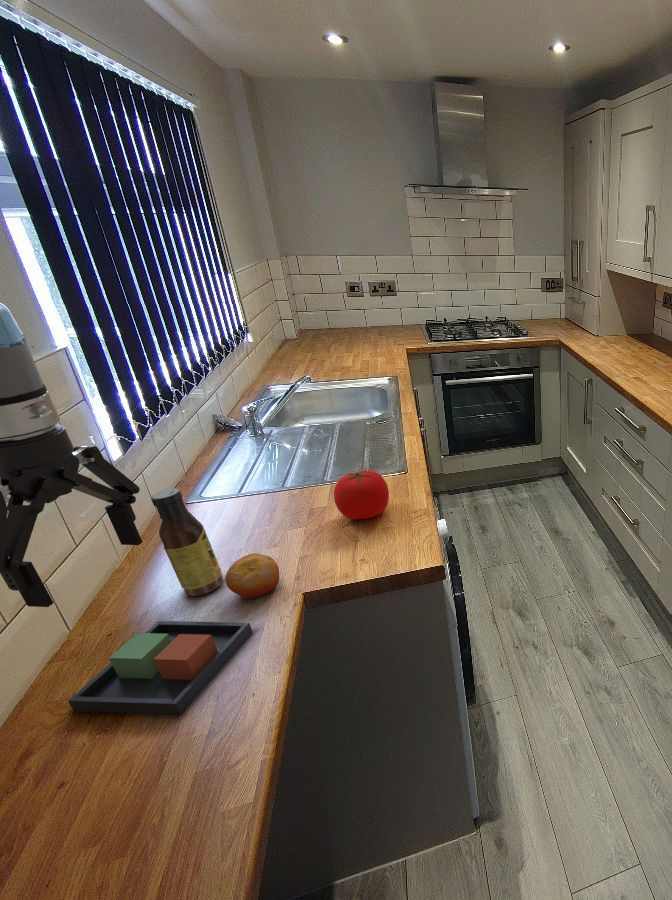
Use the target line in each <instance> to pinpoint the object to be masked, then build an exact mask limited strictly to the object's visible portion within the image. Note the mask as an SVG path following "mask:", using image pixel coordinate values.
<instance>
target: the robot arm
mask: <svg viewBox="0 0 672 900" xmlns="http://www.w3.org/2000/svg"><path fill="white" fill-rule="evenodd" d="M60 421H61V417H60V415H59V412H58V410H57V408H56V405H55V404H54V401H53V399H52V396H51V395H50V392H49V391H48V388H47V386H46V385H45V384H44V381H43V378H42V376H41V374H40V372H39V369H38V367H37V365H36V363H35V360H34V357H33V355H32V352H31V349H30V347H29V345H28V342H27V338H26V335H25V334H24V332H22V330H21V328H20V326H19V325H18V323H17V321H16V319H15V318H14V315H13V314H12V312H11V311H10V309H9V308H8V307H7V305H5V304H3V303H2V302H0V575H1V577H2V579H3V581H4V582H5V584H6V586H7V587H8V589H9V590H11V591H16V592H19V594H20V595H21V598H22V599H23V601H24V603H25V604H26V606H27V607H31V608H32V607H33V608H49V607H51V606H52V605H53V604H54V600H53V598H52V597H51V594H49V591H48V589H47V587H46V586H45V584H44V582H43V580H42V579H41V577H40V575H39V573H38V571H37V570H36V568H35V566H34V565H33V562H32V561H27V560H26V561H25V560H24V559H25V556H26V552H27V549H28V546H29V543H30V540H31V537H32V534H33V531H34V529H35V525H36V521H37V520H38V519H37V518H38V515H39V514H41V513H42V512H43V511H44V508H45V505H46V504H51V503H52V502H55V501H56V500H57V499H58V498H59V497H61V496H65V495H69V494H70V493H72V492H73V490H75V491H78V492H80V493H83V494H85V495H88V496H91V497H93V498H96V499H99V500H101V501H103V502H106V503H109V504H108V505H106V506H105V507H104V511H106V514H107V517H108V519H109V520H110V523H111V525H112V527H113V529H114V532H115V534H116V536H117V538H118V540H119V543H120V545H123V546H140V545H141V544H143V539H142V537H141V535H140V533H139V531H138V528H137V526H136V524H135V521H136V520H137V517H136V514H135V512H134V509H133V507H132V504H135V503H136V501H137V498H136V496H135V495H136V494H139V493H140V491H141V488H140V487H139V486H138V484H136V483H135V482H134V481H132V480H131V479H130V478H129V477H128V476H126V474H124V473H123V472H121V471H120V470H119V469H118V468H117V467H115V466H114V465H113V464H112V463H110V462H109V461H108V460H107V459H106V458H105V457H104V455H103V453H102V452H101V450H100V449H99V447H98V446H96V445H76V446H74V445H73V443H72V441H71V438H70V436H69V434H68V432H67V430H66V428H65V426H64V425H61V424H59V423H60ZM80 465H81V466H83V467H84V468H85V469H87V470H88V471H89V472H91V473H92V474H94V475H95V477H97V478H98V479H99V480H101V481H103V482H104V483H105V484H106V485H104V484H102V483H99V482H98V481H95V480H93V478H92V477H89V476H86V475H83V474H81V473H79V467H80ZM8 495H9V497H8ZM24 502H25V503H27V504H24Z"/></svg>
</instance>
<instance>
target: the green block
mask: <svg viewBox="0 0 672 900" xmlns="http://www.w3.org/2000/svg"><path fill="white" fill-rule="evenodd" d="M171 642H172V641H171V639H170V636H169V634H154V633H145V632H137V633H136V634H135V635H134V636H132V637H131V638H130V639H129V640H127V641H126V642H125V643H124V644H123V645H121V647H120V648H118V649H117V650H116V651H115V652H114V653H113V654H112V655H110V656H109V657H108V660H109V662H110V663H111V664H112V665H113V667H114V669H115V671H116V673H117V675H118V676H119V678H143V679H152V678H153V677H154V676H155V675H156V674H157V673H158V672H159V670H158V668H157V666H156V664H155V662H154V660H153V659H154V658H155V657H156V656H157V655H158V654H159V653H160V652H161V651H163V650H164V649H165V648H166V647H167V646H168V645H169V644H170V643H171Z"/></svg>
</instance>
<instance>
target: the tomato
mask: <svg viewBox="0 0 672 900" xmlns="http://www.w3.org/2000/svg"><path fill="white" fill-rule="evenodd" d="M389 498H390V491H389V486H388V483H387V481H386V480H385V479H384V477H383V476H382V475H381V474H380V473H378V472H377V471H374V470H368V468H366V469H364V470H361V471H354V472H351V473H350V472H346V474H345V475H344V476H342V477H340V478H339V479H338V481H337V482H336V484H335V486H334V490H333V499H334V500H333V501H334V504H335V505H336V508H337V510H338V511H339V513H340V514H341V515H343V516H344V517H345V518H347V519H349V520H365V519H366V520H367V519H371V518H374V517H375V516H378V515H380V514H381V513H382V512H384V511H385V510H386V508H387V506H388V504H389Z"/></svg>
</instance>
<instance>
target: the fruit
mask: <svg viewBox="0 0 672 900" xmlns="http://www.w3.org/2000/svg"><path fill="white" fill-rule="evenodd" d="M224 580H225V584H226V587H227V588H228V589H229V591H231V592H232V593H234V594H236V595H238V596H240V597H241V598H244V599H246V600H252V599H256V598H258V597H261V596H263V595H264V594H267V593H269V592H271V591H272V590H274V589H275V588H276V587H277V586H278V584H279V582H280V567H279V565H278V563H277V562H276V561H275V559H274V558H272V556H270V555H267V554H261V553H256V552H254V553H253V552H252V553H249V554H246V555H243V556H242V557H240V558H239V559H237V560H236V561H234V562H233V564H231V565H230V566H229V567H228V569H227V571H226V574H225V578H224Z"/></svg>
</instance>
